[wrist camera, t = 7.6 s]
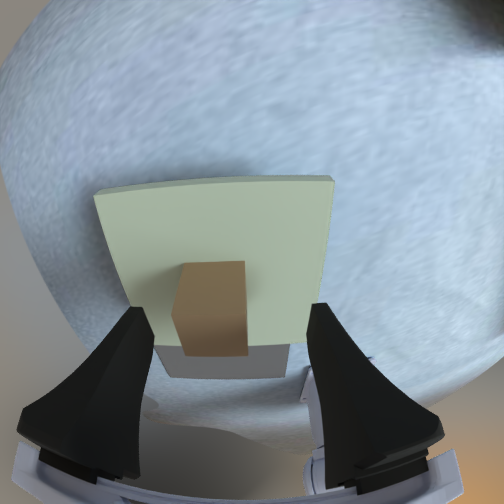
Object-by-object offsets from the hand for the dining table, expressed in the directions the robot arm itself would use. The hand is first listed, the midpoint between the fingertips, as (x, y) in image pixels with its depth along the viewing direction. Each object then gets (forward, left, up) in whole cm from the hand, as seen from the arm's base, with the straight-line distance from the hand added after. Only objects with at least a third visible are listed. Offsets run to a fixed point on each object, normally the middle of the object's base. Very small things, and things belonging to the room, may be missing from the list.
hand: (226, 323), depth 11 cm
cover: (-1, +1, -4) cm, 4 cm away
